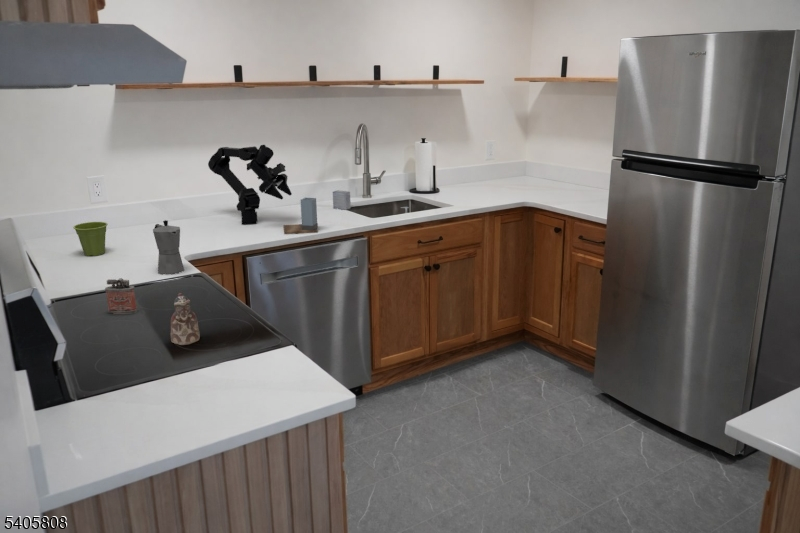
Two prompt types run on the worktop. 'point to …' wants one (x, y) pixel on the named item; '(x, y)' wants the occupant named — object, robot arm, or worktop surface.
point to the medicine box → (341, 200)
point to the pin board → (296, 229)
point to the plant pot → (92, 237)
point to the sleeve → (309, 214)
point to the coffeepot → (168, 248)
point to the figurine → (184, 322)
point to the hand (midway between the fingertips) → (286, 196)
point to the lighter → (120, 297)
